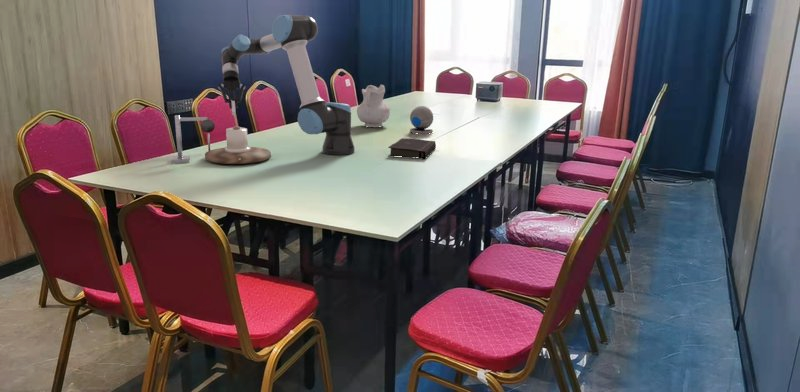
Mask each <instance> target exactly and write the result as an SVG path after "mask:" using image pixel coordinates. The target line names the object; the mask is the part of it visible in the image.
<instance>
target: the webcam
mask: <svg viewBox="0 0 800 392" xmlns="http://www.w3.org/2000/svg"><path fill="white" fill-rule="evenodd" d="M409 116H410V117H409V119H410V121H409V122H410V123H411V125H412V126H413V127H411V128H410V129H409V133H410V132H412V133H418V134H428V135H430V134H429V133H432V132H433V133H434V131H433V129H429V127H431V125H432V123H433V121H434V113H433V112H432V110H431V109H430V108H429V107H427V106H424V105H420V106H419V105H418V106H416V107H415V108H413V110H412V111H411V113H410V115H409ZM412 133H411V134H412ZM433 133H432V134H433ZM418 134H417V135H418Z"/></svg>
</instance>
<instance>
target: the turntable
mask: <svg viewBox="0 0 800 392" xmlns="http://www.w3.org/2000/svg"><path fill="white" fill-rule="evenodd" d="M271 157H272V151H271V150H269V149H266V148H262V147H258V146H257V147H256V146H250V151H249V152H246V153H227V152H225V147H220V148H214V149H210V152H209V151H206V152H205V153H204V158H205V160H206V161H207V162H211V163H216V164H224V165H226V164H227V165H243V164H245V163H246V164H252V163H253V164H254V163H259V162H264V161H266V160H269V159H270V158H271Z"/></svg>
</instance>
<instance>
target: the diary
mask: <svg viewBox="0 0 800 392" xmlns="http://www.w3.org/2000/svg"><path fill="white" fill-rule="evenodd" d="M436 146H437V144H436V141H435V140H426V139H420V138H419V139H418V138H409V137H408V138H404V137H403V138H400V139H399V140H397V141H396V142H395V143H392V144H390V146H388V149H390V156H402V157H420V156H421V157H420V158H422V157H423V158H426V157H427V156H428V155H429V154H430V153H431V154H432V153H433V151H435V150H436V149H437V147H436ZM434 149H435V150H434ZM431 154H430V155H431ZM430 155H429V156H430ZM429 156H428V157H429ZM428 157H427V158H428ZM423 158H422V159H423ZM427 158H426V159H427Z"/></svg>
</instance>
